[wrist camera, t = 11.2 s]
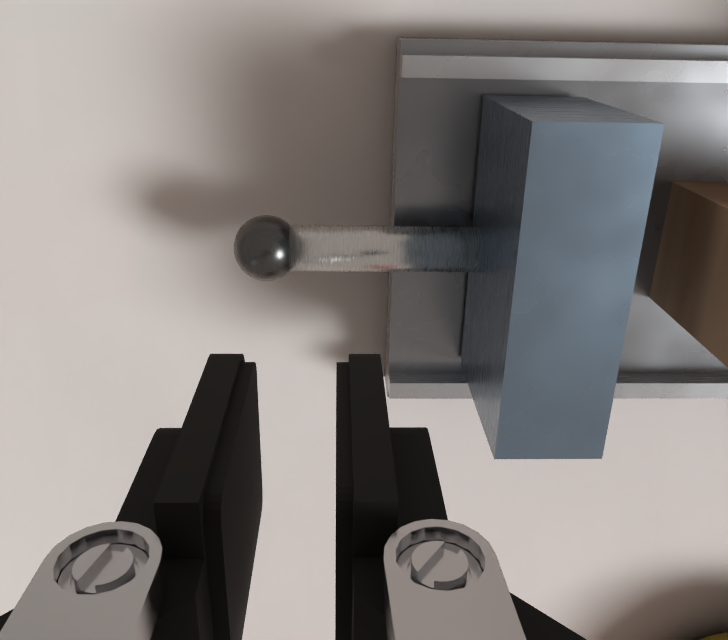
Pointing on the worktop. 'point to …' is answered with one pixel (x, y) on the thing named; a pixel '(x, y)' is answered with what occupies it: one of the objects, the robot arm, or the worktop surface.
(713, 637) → the potato
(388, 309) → the vise bed
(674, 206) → the walnut block
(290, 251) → the sliding jaw
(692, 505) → the worktop surface
